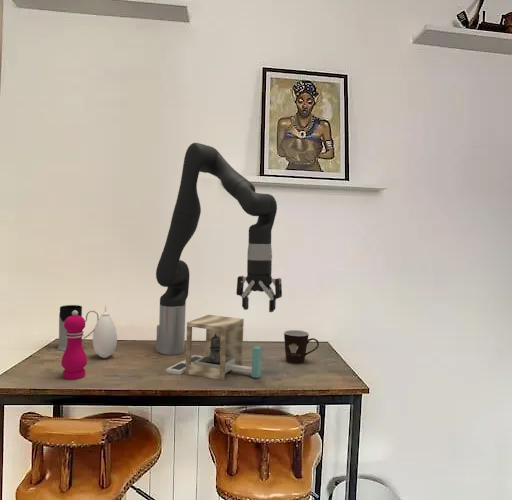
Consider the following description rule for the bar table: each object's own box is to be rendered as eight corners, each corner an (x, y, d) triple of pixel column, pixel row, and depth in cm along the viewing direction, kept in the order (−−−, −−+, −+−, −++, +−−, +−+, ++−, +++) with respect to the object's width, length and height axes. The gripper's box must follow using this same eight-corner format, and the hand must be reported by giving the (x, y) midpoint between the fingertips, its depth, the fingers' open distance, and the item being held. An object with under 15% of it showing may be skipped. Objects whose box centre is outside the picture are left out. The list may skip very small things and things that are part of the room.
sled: (193, 371, 153) (194, 343, 153) (207, 362, 162) (208, 336, 162) (253, 381, 145) (254, 351, 145) (265, 372, 155) (266, 344, 154)
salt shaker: (220, 374, 152) (222, 336, 152) (202, 372, 154) (204, 335, 153) (225, 368, 158) (226, 332, 157) (208, 366, 159) (209, 330, 159)
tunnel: (185, 373, 152) (186, 322, 151) (207, 361, 165) (208, 314, 164) (223, 380, 147) (224, 327, 146) (241, 367, 160) (243, 318, 159)
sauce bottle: (98, 361, 160) (99, 308, 159) (88, 356, 166) (89, 304, 165) (120, 358, 166) (121, 306, 164) (110, 352, 171) (111, 302, 170)
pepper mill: (71, 381, 140) (72, 313, 139) (55, 376, 144) (56, 310, 143) (91, 375, 147) (93, 310, 145) (76, 370, 150) (77, 307, 149)
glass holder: (62, 344, 180) (62, 304, 179) (100, 345, 181) (101, 305, 180) (53, 350, 172) (54, 308, 171) (94, 351, 173) (95, 309, 172)
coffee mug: (277, 360, 169) (278, 332, 168) (293, 356, 175) (294, 329, 175) (304, 368, 161) (305, 339, 161) (319, 363, 168) (320, 335, 167)
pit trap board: (165, 372, 152) (166, 368, 152) (194, 358, 169) (194, 354, 169) (179, 374, 150) (179, 371, 150) (206, 360, 167) (206, 356, 167)
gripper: (233, 258, 148) (232, 310, 149) (277, 260, 143) (275, 314, 144) (243, 256, 155) (242, 307, 156) (285, 258, 150) (284, 310, 151)
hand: (258, 310), depth 150 cm, fingers open, 8 cm apart
